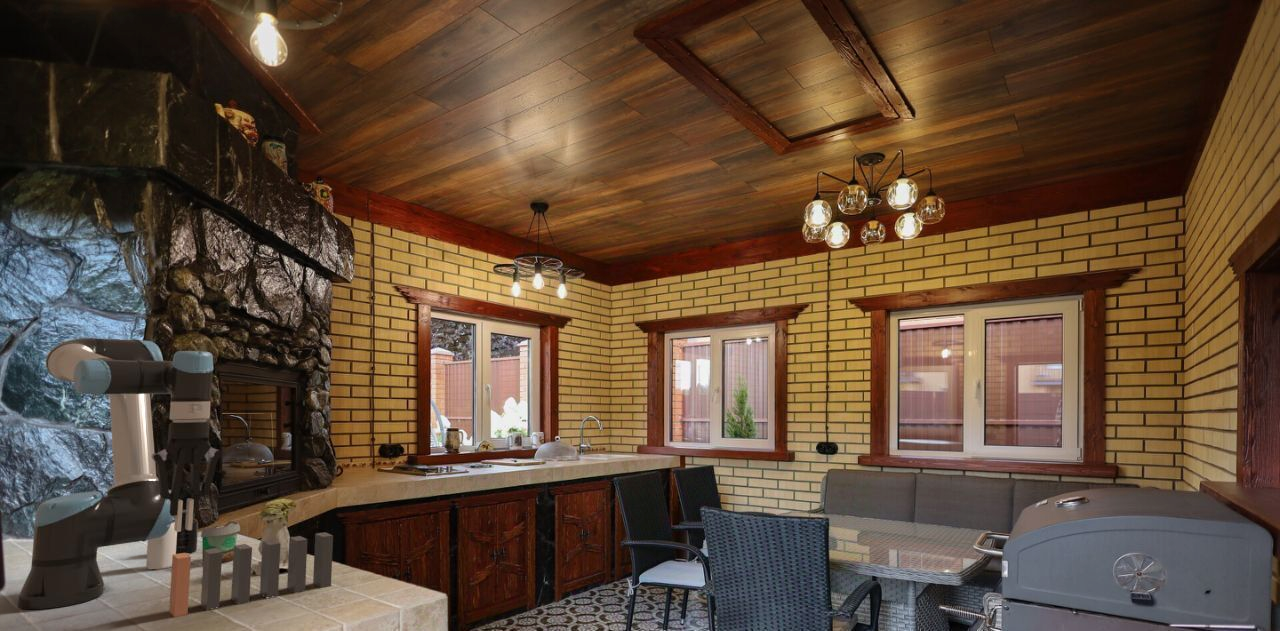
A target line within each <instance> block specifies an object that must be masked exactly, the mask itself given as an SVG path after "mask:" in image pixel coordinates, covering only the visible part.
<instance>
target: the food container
mask: <svg viewBox="0 0 1280 631" xmlns="http://www.w3.org/2000/svg"><path fill="white" fill-rule="evenodd" d="M240 531H241V526H240V524H239V521H236V520H227V523H225V524H224V525H217V526H214V527H213V528H212V527H211V528H202V530H201V534H200V537H201V539H202V542H201V543H202V544H201V546H202V547H201V548H202V559H203V558H204V550H207V549H214V548H217V549H218V550H220V551H221V552H222V564H227V563H230V562H233V555H234V546H235V545H237V538H238V532H240Z"/></svg>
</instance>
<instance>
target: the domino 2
mask: <svg viewBox="0 0 1280 631" xmlns="http://www.w3.org/2000/svg"><path fill="white" fill-rule="evenodd" d="M221 581H222V552H221V551H220V550H218V549H217V548H214V549H207V550H204V558H203V557H202V578H201V595H200V606H201V605H202V606H203V607H204V608H205V609H211V608H216V607H219V608H220V599H221V598H220V597H221ZM202 606H201V607H202ZM203 607H202V608H203ZM204 608H203V609H204ZM205 609H204V610H205Z"/></svg>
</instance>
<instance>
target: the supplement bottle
mask: <svg viewBox="0 0 1280 631" xmlns="http://www.w3.org/2000/svg"><path fill="white" fill-rule="evenodd" d="M195 516H196V513H194V514H193V522H192V530H186V529H185V523H186V509H182V523H181V531H180V532H177V541H176V554H180V553H190V554H193V553H195V552H196V551H197V548H198V534H199V533H198V532H199V531H198V529H199V522H198V520H197V519H195ZM192 552H193V553H192Z"/></svg>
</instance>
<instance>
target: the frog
mask: <svg viewBox="0 0 1280 631" xmlns="http://www.w3.org/2000/svg"><path fill="white" fill-rule="evenodd" d="M296 508H297V503H296V501H295V500H294V499H289V498H278V499H277V498H276V499H275V500H271V501H268V502H266V503H265V505H264V506H263V507H262V508H261V510H260V513H259V516H260V520H261V522H262V521H263V522H267V525H266V526H265V529H264V531H263V534H262V537H261V538H260V539H259V544H258V548H257V550H258V552H259V553H260V556H261V557H262V541H269V540H275V541H277V542H279V543H280V564H279V569H286V571H288V559H289V538H290V537H291V536H290V533H289V532H290V531H289V530H288V527H287V526H286V525H288V522H289V516H290V515H291V514H292V513H293V512H294V511H295V510H296ZM253 562H254V563H251V575H252V574H255V575H256V576H261V561H258V562H257V563H255V562H256V560H255V559H254V560H253ZM254 572H255V573H254Z"/></svg>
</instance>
